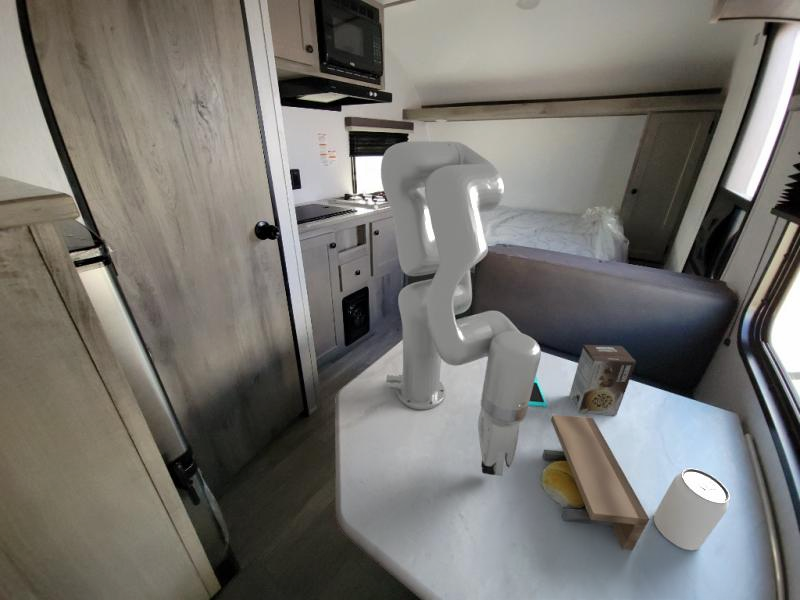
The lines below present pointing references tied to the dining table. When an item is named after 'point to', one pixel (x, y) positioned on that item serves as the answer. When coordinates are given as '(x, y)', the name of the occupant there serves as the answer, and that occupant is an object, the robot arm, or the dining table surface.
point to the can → (691, 508)
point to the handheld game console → (537, 396)
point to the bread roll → (562, 485)
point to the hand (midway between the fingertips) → (489, 470)
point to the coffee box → (601, 379)
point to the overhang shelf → (597, 480)
